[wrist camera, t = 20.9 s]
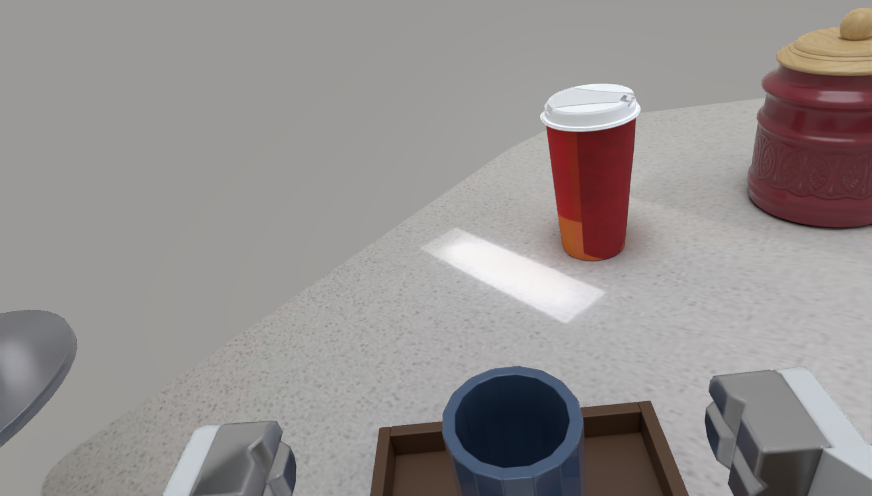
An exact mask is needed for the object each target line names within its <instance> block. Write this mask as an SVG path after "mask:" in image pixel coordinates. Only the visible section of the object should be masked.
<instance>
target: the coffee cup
mask: <svg viewBox="0 0 872 496" xmlns="http://www.w3.org/2000/svg"><path fill="white" fill-rule="evenodd" d="M544 109H545V111H544V112H543V113H542V114H541V116H540V119H541V120H542V121H543V123H544V124H545V125H546V127H547V135H548V143H549V150H550V158H551V166H552V173H553V181H554V189H555V196H556V204H557V211H558V218H559V226H560V232H561V239H562V244H563V248H564V250H565V251H566V253H568V254H569V255H570V256H572V257H574V258H577V259H581V260H588V261H598V260H604V259H608V258H611V257H613V256H615V255H617V254H618V253H620V252H621V251H622V249H623V247H624V244H625V236H626V227H627V216H628V205H629V193H630V181H631V172H632V162H633V153H634V140H635V124H636V117H637V116H638V115H639V113H640V106H639V104H638V103H637V102H636V99H635V94H634V92H633V91H632V90H631V89H630V88H628V87H625V86H621V85H614V84H590V85H582V86H577V87H573V88H569V89H566V90H563V91H560V92H558V93H556V94H554V95H553V96H551V97H550V98H549V100H548V102H547V103H546V104H545V106H544Z"/></svg>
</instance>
